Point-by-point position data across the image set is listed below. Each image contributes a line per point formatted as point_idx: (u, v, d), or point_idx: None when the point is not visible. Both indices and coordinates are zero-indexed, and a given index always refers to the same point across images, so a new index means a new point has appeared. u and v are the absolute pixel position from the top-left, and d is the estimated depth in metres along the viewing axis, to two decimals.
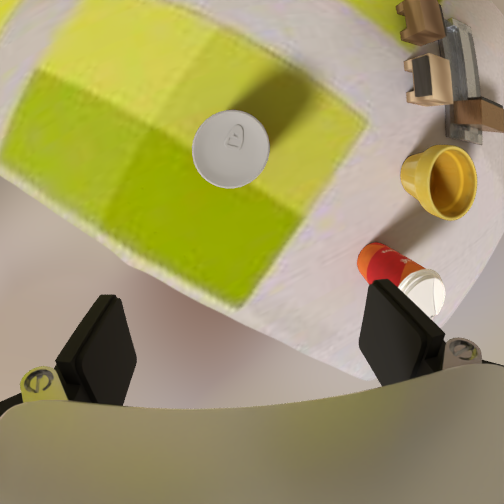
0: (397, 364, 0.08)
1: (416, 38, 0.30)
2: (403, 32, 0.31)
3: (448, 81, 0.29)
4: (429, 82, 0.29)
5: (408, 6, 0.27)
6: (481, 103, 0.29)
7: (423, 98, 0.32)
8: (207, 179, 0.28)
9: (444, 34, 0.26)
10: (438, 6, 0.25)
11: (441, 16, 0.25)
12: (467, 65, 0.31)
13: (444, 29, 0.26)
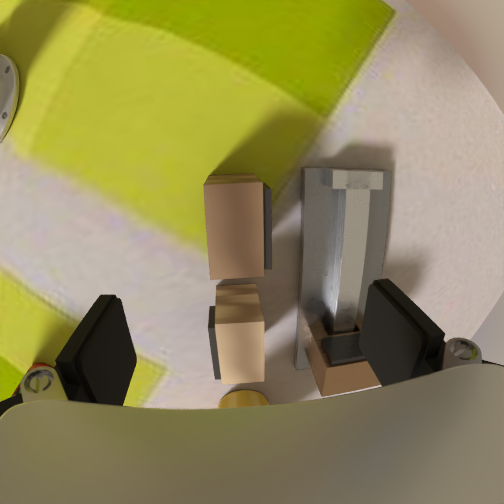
0: (396, 364, 0.08)
1: None
2: None
3: (256, 356, 0.25)
4: (214, 365, 0.25)
5: None
6: (326, 372, 0.25)
7: None
8: None
9: (262, 270, 0.22)
10: (261, 199, 0.20)
11: (264, 225, 0.21)
12: (348, 269, 0.27)
13: (266, 257, 0.22)
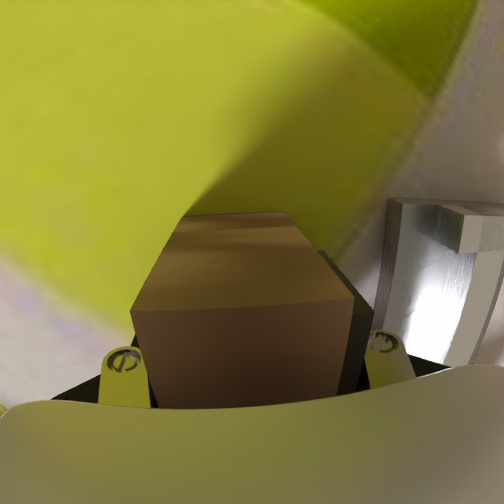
0: None
1: None
2: None
3: None
4: None
5: None
6: None
7: None
8: None
9: None
10: (339, 347, 0.06)
11: None
12: None
13: None
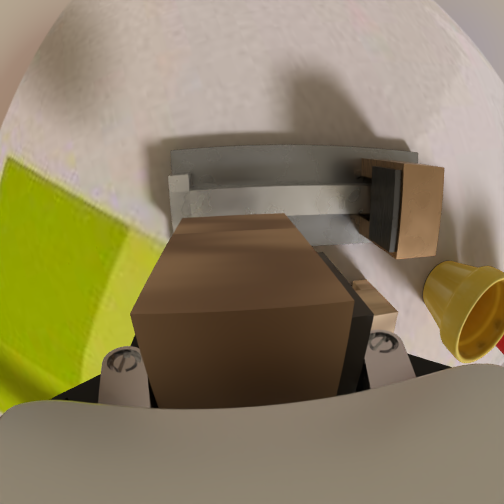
0: None
1: None
2: None
3: None
4: None
5: None
6: (402, 257, 0.20)
7: None
8: None
9: None
10: (339, 350, 0.06)
11: None
12: (287, 206, 0.23)
13: None
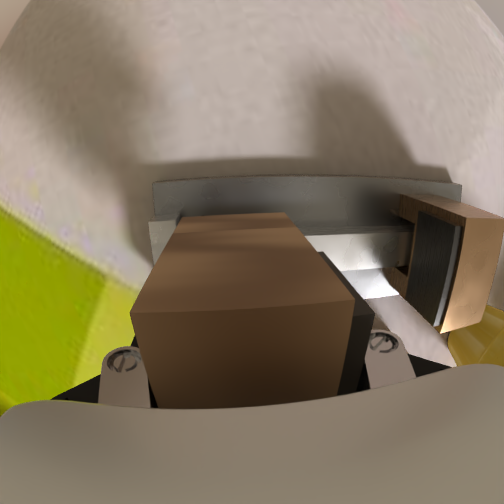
0: None
1: None
2: None
3: None
4: None
5: None
6: (447, 329, 0.15)
7: None
8: None
9: None
10: (340, 349, 0.06)
11: None
12: None
13: None
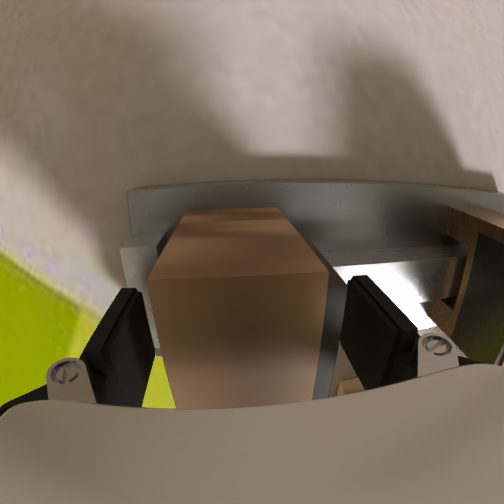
0: (372, 358, 0.08)
1: None
2: None
3: None
4: None
5: None
6: None
7: None
8: None
9: None
10: (319, 315, 0.07)
11: (318, 371, 0.08)
12: None
13: None
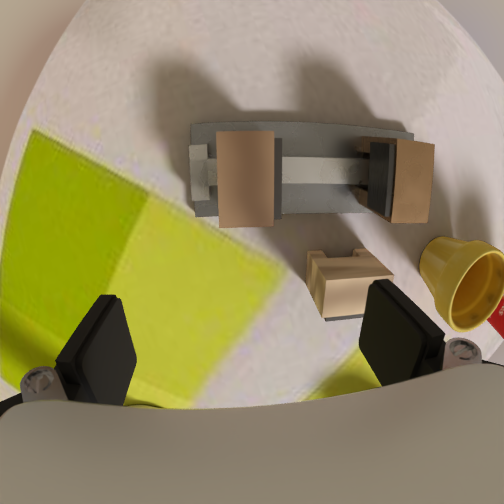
0: (396, 364, 0.08)
1: None
2: None
3: (362, 284, 0.26)
4: None
5: None
6: (397, 221, 0.23)
7: None
8: None
9: (272, 220, 0.22)
10: (272, 147, 0.20)
11: (275, 173, 0.21)
12: (294, 174, 0.26)
13: (276, 206, 0.22)
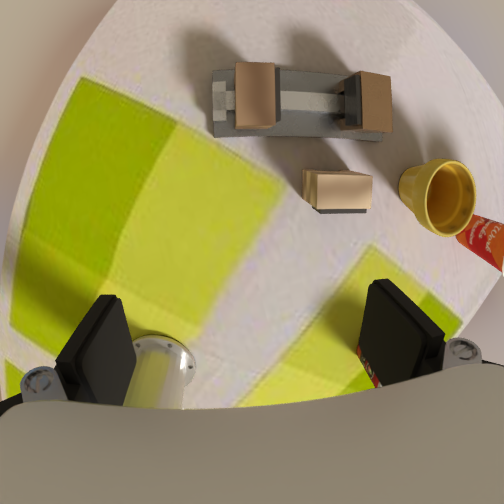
0: (397, 364, 0.08)
1: (246, 127, 0.33)
2: None
3: (347, 181, 0.32)
4: (353, 212, 0.34)
5: None
6: (367, 128, 0.29)
7: None
8: None
9: (274, 120, 0.29)
10: (273, 72, 0.27)
11: (275, 89, 0.27)
12: (289, 103, 0.33)
13: (276, 111, 0.28)
